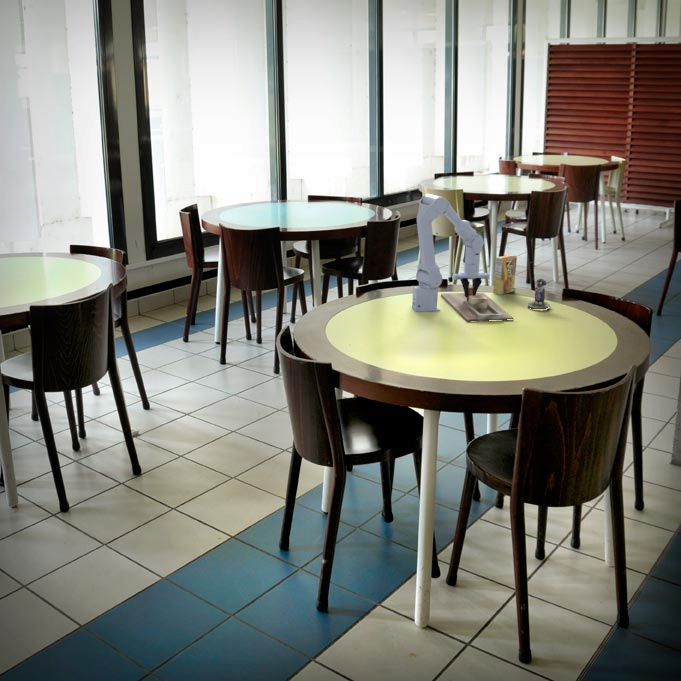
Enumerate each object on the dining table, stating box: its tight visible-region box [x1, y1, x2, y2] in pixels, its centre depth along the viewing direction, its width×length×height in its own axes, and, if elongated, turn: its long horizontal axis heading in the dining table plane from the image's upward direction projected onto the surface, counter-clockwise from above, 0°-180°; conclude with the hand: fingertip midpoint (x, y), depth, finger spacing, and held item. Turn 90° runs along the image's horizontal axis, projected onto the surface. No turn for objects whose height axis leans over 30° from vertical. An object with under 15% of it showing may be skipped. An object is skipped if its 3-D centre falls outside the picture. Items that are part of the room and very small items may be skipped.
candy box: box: [492, 254, 518, 296], centre depth 351 cm, size 9×4×15 cm, turn 129°
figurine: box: [527, 278, 551, 310], centre depth 330 cm, size 8×8×12 cm
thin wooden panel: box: [440, 292, 514, 323], centre depth 331 cm, size 18×36×2 cm, turn 9°
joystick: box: [467, 286, 488, 309], centre depth 332 cm, size 6×14×5 cm, turn 9°
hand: (469, 296), depth 338 cm, fingers closed on joystick, 2 cm apart
